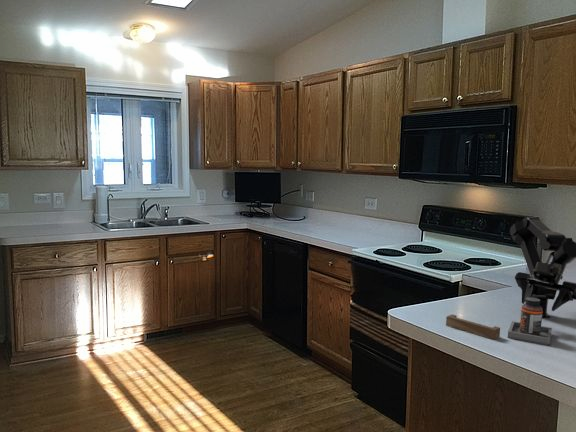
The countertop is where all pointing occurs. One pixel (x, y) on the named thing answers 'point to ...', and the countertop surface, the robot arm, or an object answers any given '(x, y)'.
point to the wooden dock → (473, 327)
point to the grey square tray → (541, 339)
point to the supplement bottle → (531, 317)
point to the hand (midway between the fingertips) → (537, 306)
